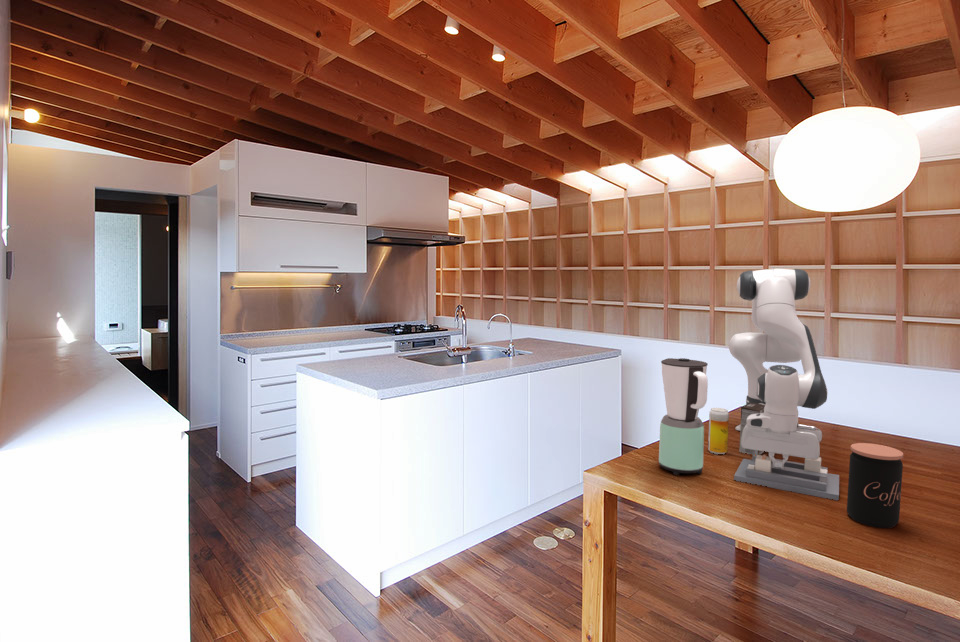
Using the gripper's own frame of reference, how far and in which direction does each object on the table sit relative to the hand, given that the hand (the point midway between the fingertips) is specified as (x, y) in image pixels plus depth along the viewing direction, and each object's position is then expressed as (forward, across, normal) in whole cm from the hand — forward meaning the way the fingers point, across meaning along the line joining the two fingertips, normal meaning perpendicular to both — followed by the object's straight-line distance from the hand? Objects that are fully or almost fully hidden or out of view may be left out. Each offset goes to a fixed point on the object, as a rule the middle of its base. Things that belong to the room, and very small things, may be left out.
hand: (778, 467), depth 159 cm
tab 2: (+3, -8, -8) cm, 12 cm away
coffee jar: (+5, -22, +14) cm, 27 cm away
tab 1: (+3, +4, 0) cm, 5 cm away
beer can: (+5, +20, -20) cm, 29 cm away
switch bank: (+4, -2, -4) cm, 6 cm away
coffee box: (+5, +10, -28) cm, 30 cm away
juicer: (+5, +26, +5) cm, 27 cm away
